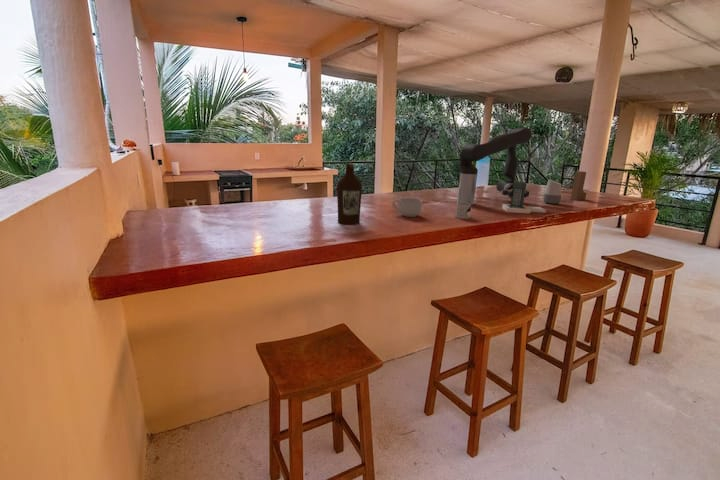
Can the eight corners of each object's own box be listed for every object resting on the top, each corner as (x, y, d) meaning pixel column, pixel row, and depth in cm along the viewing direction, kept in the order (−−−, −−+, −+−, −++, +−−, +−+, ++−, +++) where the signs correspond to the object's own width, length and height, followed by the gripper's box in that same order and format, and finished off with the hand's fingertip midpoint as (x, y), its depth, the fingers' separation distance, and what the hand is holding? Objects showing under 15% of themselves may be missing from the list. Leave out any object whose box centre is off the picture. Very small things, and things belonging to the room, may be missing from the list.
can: (522, 210, 197) (527, 182, 193) (520, 212, 193) (525, 183, 188) (511, 208, 201) (515, 181, 196) (508, 210, 196) (512, 182, 191)
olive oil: (334, 219, 164) (335, 162, 156) (357, 219, 166) (359, 163, 159) (338, 225, 154) (339, 165, 147) (363, 225, 156) (365, 165, 149)
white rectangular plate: (530, 211, 195) (530, 209, 194) (525, 208, 204) (525, 206, 204) (546, 212, 193) (546, 210, 193) (540, 208, 203) (540, 207, 202)
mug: (469, 219, 172) (470, 205, 170) (454, 218, 174) (456, 204, 172) (470, 215, 181) (472, 202, 179) (456, 214, 183) (458, 201, 181)
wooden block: (579, 198, 242) (584, 171, 237) (585, 199, 238) (591, 171, 233) (570, 199, 238) (575, 171, 233) (576, 200, 234) (582, 172, 229)
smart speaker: (561, 205, 215) (565, 181, 211) (543, 204, 218) (547, 180, 214) (558, 202, 224) (562, 179, 220) (541, 201, 227) (545, 178, 223)
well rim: (506, 211, 192) (507, 208, 191) (502, 207, 203) (502, 204, 202) (530, 213, 190) (530, 209, 190) (524, 209, 201) (525, 205, 201)
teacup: (422, 214, 180) (423, 198, 177) (418, 219, 170) (419, 202, 168) (395, 211, 184) (395, 196, 182) (389, 216, 174) (390, 199, 172)
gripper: (499, 183, 209) (505, 187, 193) (526, 184, 206) (534, 188, 191) (497, 196, 211) (503, 201, 195) (524, 197, 209) (532, 202, 193)
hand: (518, 195), depth 193 cm, fingers closed on can, 6 cm apart
